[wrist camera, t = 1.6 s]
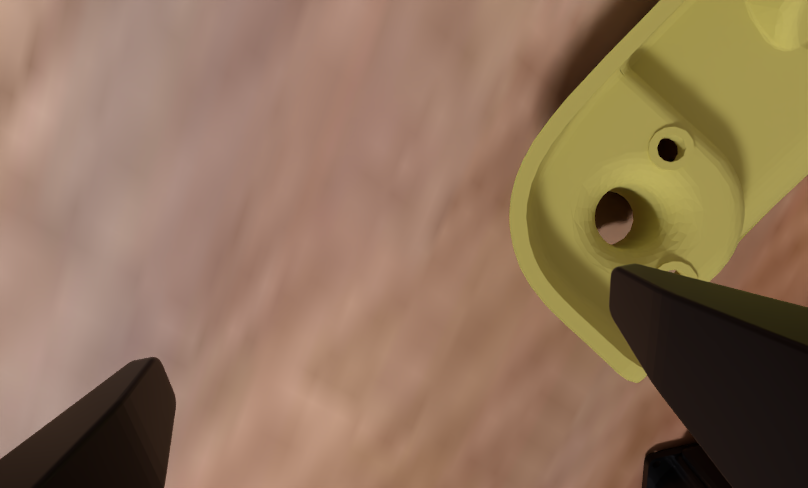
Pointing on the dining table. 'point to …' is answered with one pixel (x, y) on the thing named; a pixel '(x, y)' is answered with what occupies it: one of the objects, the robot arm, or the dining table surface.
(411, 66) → the dining table surface
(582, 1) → the dining table surface
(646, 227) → the plastic component
